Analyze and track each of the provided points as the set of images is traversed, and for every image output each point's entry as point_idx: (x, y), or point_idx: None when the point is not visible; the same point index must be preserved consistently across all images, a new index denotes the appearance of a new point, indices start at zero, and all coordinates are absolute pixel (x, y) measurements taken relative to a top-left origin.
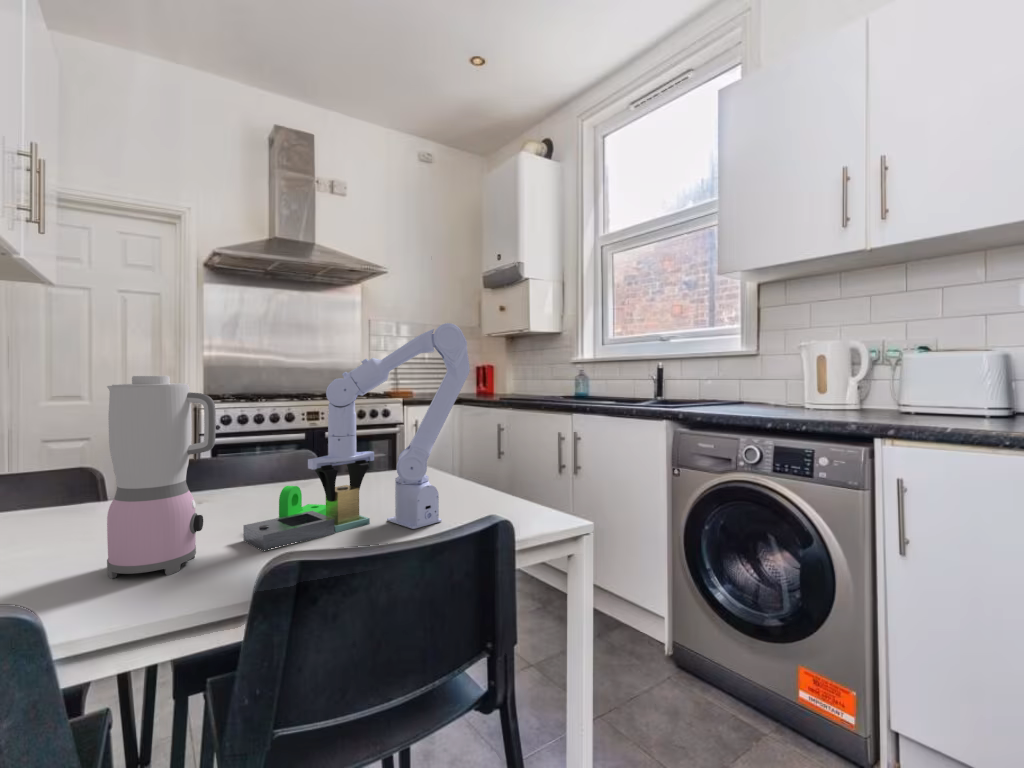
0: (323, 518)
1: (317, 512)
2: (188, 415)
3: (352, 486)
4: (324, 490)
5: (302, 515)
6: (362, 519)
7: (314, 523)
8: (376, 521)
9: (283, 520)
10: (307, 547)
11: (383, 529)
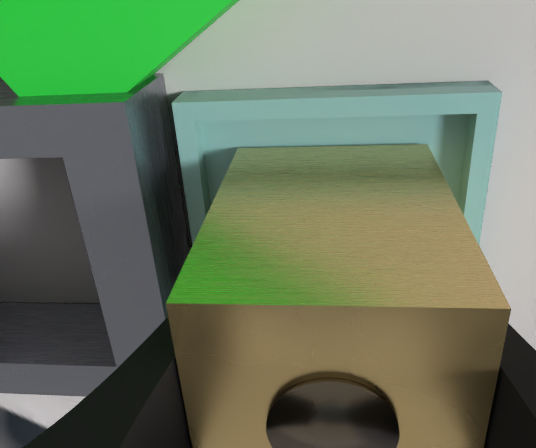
0: (125, 352)
1: (213, 15)
2: None
3: (485, 428)
4: (122, 364)
5: (24, 157)
6: None
7: (48, 393)
8: (522, 316)
9: None
10: (30, 401)
11: None
